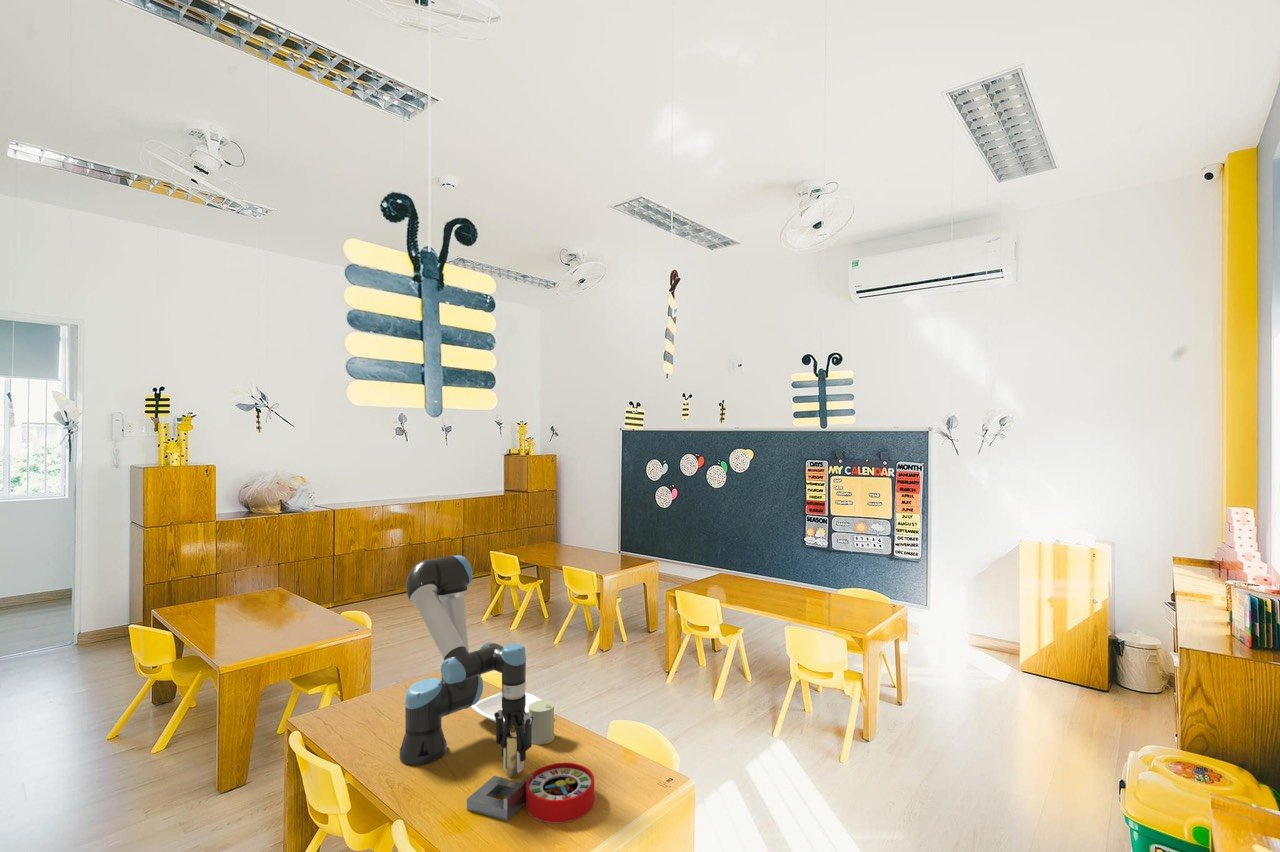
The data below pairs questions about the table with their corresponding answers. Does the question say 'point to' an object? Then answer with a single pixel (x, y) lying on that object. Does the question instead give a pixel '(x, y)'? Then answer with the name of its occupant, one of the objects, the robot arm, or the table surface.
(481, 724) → the table surface
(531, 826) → the table surface
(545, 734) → the can
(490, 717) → the bowl
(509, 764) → the bushing
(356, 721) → the table surface
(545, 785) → the toy clock
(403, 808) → the table surface
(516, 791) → the jig
